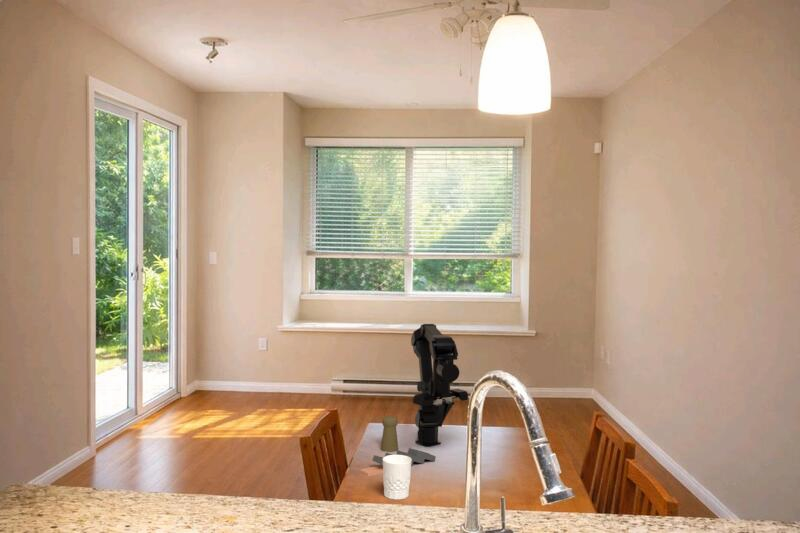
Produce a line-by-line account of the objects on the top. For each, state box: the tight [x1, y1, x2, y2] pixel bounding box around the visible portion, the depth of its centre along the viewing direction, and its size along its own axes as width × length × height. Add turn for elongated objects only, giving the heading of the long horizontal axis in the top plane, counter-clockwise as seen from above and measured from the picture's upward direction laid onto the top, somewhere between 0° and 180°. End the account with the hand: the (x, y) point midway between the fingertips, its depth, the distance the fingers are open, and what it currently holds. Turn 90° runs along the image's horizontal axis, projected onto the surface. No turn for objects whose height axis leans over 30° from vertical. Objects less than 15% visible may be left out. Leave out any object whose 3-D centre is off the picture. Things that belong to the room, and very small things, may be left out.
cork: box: [380, 415, 399, 453], centre depth 227 cm, size 6×6×11 cm
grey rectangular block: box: [384, 452, 414, 467], centre depth 209 cm, size 2×4×8 cm
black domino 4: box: [372, 454, 384, 465], centre depth 206 cm, size 2×4×8 cm
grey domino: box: [395, 449, 426, 465], centre depth 212 cm, size 2×4×8 cm
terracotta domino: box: [359, 464, 383, 477], centre depth 204 cm, size 2×4×8 cm
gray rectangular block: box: [407, 447, 437, 462], centre depth 215 cm, size 2×4×8 cm
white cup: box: [382, 454, 412, 500], centre depth 185 cm, size 8×8×10 cm
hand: (440, 423), depth 219 cm, fingers closed
